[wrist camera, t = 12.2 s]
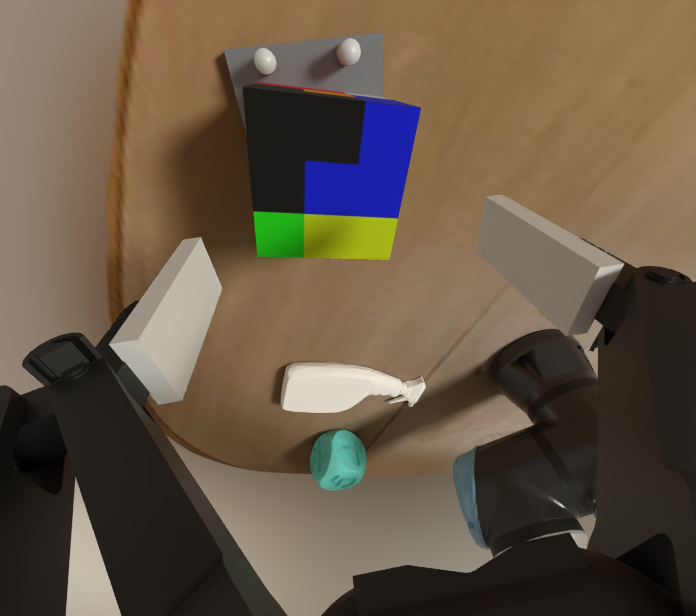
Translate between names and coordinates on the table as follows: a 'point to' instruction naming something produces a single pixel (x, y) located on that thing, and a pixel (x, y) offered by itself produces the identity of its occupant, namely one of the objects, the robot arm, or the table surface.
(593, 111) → the table surface
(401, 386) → the spray bottle
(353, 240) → the puzzle toy
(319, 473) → the decorative dice
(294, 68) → the pin tray
